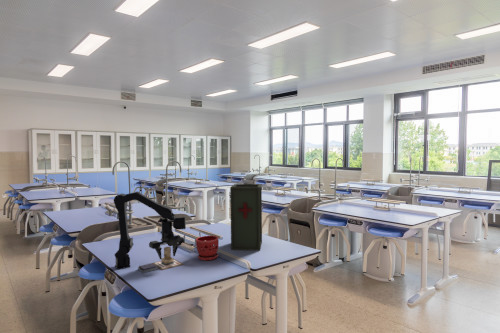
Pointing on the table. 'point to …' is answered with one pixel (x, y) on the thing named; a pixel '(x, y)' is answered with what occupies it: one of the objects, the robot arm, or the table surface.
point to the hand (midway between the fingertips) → (167, 257)
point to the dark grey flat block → (147, 267)
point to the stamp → (167, 257)
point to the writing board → (162, 267)
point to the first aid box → (246, 216)
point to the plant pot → (207, 247)
